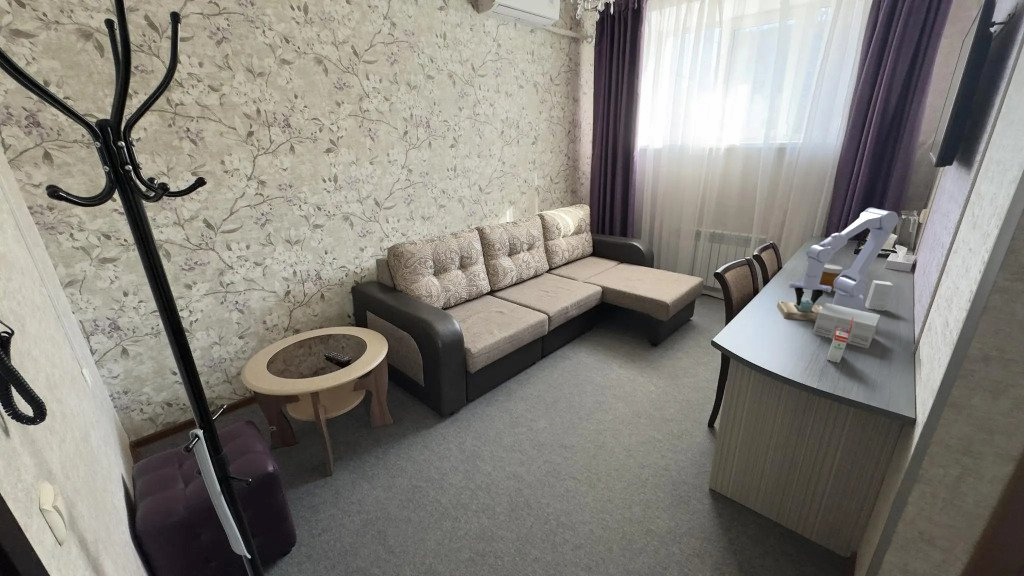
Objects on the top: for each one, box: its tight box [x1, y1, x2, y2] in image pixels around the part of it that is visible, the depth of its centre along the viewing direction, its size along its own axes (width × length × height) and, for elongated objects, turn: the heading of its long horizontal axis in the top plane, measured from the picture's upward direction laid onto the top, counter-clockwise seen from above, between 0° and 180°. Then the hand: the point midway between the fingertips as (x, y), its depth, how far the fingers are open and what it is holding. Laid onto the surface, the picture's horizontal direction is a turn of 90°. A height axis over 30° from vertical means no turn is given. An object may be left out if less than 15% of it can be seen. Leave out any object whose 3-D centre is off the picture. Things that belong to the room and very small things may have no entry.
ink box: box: [826, 317, 854, 364], centre depth 138 cm, size 4×8×15 cm, turn 140°
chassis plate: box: [776, 300, 823, 322], centre depth 173 cm, size 16×12×3 cm
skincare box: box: [864, 279, 894, 311], centre depth 178 cm, size 6×4×12 cm
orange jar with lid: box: [819, 263, 844, 293], centre depth 198 cm, size 10×10×12 cm
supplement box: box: [812, 302, 881, 349], centre depth 155 cm, size 17×13×9 cm
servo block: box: [796, 296, 813, 312], centre depth 172 cm, size 4×9×5 cm, turn 161°
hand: (804, 305), depth 172 cm, fingers closed on servo block, 4 cm apart
